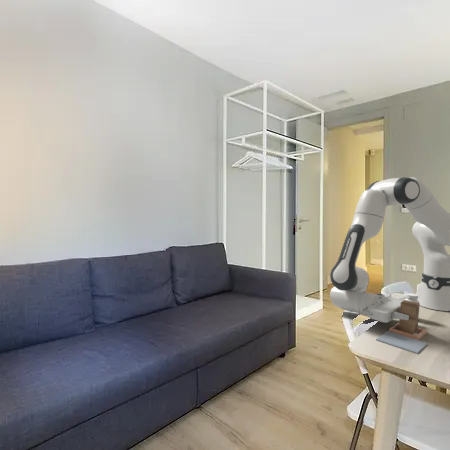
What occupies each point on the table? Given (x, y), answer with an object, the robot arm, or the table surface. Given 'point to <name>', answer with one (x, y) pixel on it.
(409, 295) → the supplement bottle
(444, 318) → the table surface
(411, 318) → the walnut block
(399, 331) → the terracotta frame
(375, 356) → the table surface
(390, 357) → the table surface
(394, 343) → the rubber mat
